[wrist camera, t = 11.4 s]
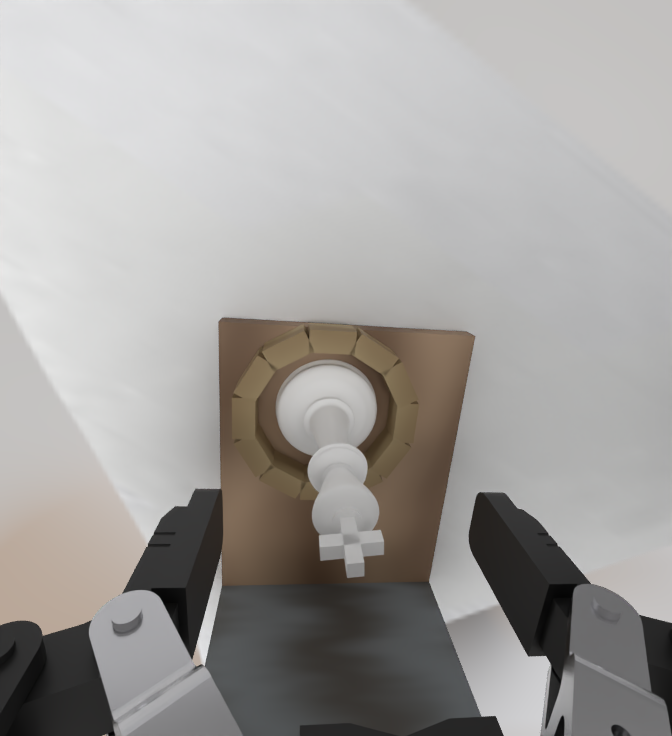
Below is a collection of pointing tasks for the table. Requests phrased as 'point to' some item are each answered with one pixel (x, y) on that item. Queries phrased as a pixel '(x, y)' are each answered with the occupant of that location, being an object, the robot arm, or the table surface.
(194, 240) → the table surface
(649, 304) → the table surface
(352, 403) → the chess piece
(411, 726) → the base
